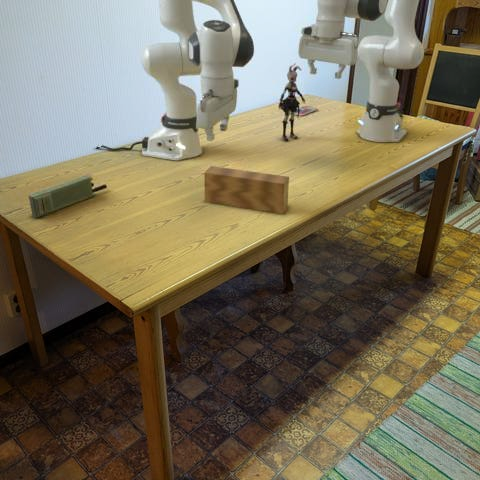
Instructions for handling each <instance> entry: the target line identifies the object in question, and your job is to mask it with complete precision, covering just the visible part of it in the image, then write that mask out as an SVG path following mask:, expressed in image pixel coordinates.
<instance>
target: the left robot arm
mask: <svg viewBox="0 0 480 480" xmlns="http://www.w3.org/2000/svg"><path fill="white" fill-rule="evenodd" d="M193 2H196V3H200V4H204V5H207V6H209V7H211V8H213V9H215V10H216V11H217V12H218V13H219V14H220V16H221V20H220V19H219V20H218V19H210V20H206V21H205V22H203V23H202V25H201V29H199V30H198V29H197V26H196V23H195V15H194V6H193ZM158 9H159V21H160V23H161V25H162V26H163V27H164V28H165V29H166V30H168V31H170V32H172V33H174V34H176V35H177V36H178V39H179V41H178V42H158V43H154V44H149V45H147V46H145V47H144V48H143V50H142V53H141V60H140V61H141V66H142V68H143V70H144V72H145V73H146V74H147V75H148V76H150V77H151V78H152V79H154V80H155V81H156V82H157V84H158V85H159V87H160V89H161V90H162V92H163V93H162V94H163V96H164V102H165V103H164V104H165V113H163V114H162V116H161V118H160V123H161V125H159V127H157V128H156V129H155V130H154V131H152V132H151V133H150V135H149V136H144V137H143V139H142V140H141V141H136V142H133V143H132V144H131V145H130V147H126V146H121V147H117V148H116V147H115V148H114V147H109V146H107V145H104V144H101V145H102V146H101V147H98V146H99V145H97V146H96V147H95V150H99V149H100V148H103V149H106V150H108V151H114V152H116V151H122V150H126V151H130V150H133V148H134V147H135V146H137V145H141V148H142V150H141V155H142V156H145V157H152V158H157V159H164V160H170V161H176V162H178V161H182V160H185V159H190V158H191V159H192V158H196V157H198V156H200V155H202V153H203V149H202V148H203V147H202V145H201V142H200V134H199V129H202V130H204V132H205V135H206V140H207V142H213V141H214V140H215V136H216V135H215V134H216V133H214V127H215V126H216V125H217V124H219V123H220V124H219V130H220V131H221V132H225V131H227V130H228V124H229V121H230V115H231V114H232V113H234V112H235V111H236V109H237V108H236V107H237V103H238V102H237V101H238V88H239V85H240V81H239V79H237V78H234V71H233V68H244V67H245V66H246V65H248V63H250V61H251V60H252V59H253V57H254V54H255V45H254V40H253V38H252V37H253V36H252V35H251V33H250V32H249V30H248V29H247V27H246V25H245V23H244V21H243V19H242V17H241V16H242V15H241V14H240V11H239V9H238V6H237V4H236V2H235V0H158ZM189 76H190V77H193V76H200V93H201V94H202V95H201V97H200V98H199V100H198V99H197V93H196V92H195V91H194V89H192V88H191V87H189V86H187V85H185V84H183V83H181V82H180V81H179V80H180V79H179V78H180V77H189ZM197 100H198V102H197Z"/></svg>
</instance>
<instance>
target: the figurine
mask: <svg viewBox="0 0 480 480" xmlns="http://www.w3.org/2000/svg"><path fill="white" fill-rule="evenodd" d="M292 68H293V69H292ZM297 70H299V71H302V68H301V67H300V66H299V65H296V62H295V63H293V64H291V65H290V66H289V67H288V72H287V73H286V77H287V80H288V81H289V82H288V83H286V84H285V87H284V89H283V91H282V93H281V95H280V98H279V104H278V110H280V111H281V110H282V111H283V113H284V118H283V120H282V121H281V123H282V135H281V139H282V140H283V141H284V142H288V141H290V140H289V138H288V137H287V125H288V124H290V133H289V137H290V138H292V139H294V140H295V139H296V140H297V139H298V136H297V135H296V134H295V132H294V123H295V116H297V117H296V119H299V111H300V109H299V108H301V107H300V105H301V103H306V100H305V98H304V97H303V94H302V93H301V91H300V90H299V88H298V85H297V83H296V82H297V77H298V72H296V71H297ZM286 92H287V93H288V94H287V97H285V94H286ZM296 94H297V95H298V96H299V98H300V99H301V102H300V101H299V100H298V99H297V96H296ZM297 109H298V115H295V112H297ZM290 112H291V113H290ZM300 114H301V113H300ZM289 122H290V123H289Z"/></svg>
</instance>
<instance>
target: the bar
mask: <svg viewBox="0 0 480 480" xmlns="http://www.w3.org/2000/svg"><path fill="white" fill-rule="evenodd" d="M203 175H204V176H203V177H204V178H203V179H204V202H206V203H210V204H211V203H212V204H217V205H222V206H223V205H224V206H230V207H236V208H242V209H249V210H255V211H261V212H267V213H272V214H279V215H284V213H285V211H286V209H287V208H288V201H289V186H290V176H285V175H278V174H271V173H264V172H257V171H251V170H250V171H249V170H242V169H235V168H228V167H221V166H214V165H210V167H209V168H207V169H206V170H205V171H204V172H203Z"/></svg>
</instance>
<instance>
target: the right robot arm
mask: <svg viewBox="0 0 480 480" xmlns="http://www.w3.org/2000/svg"><path fill="white" fill-rule="evenodd" d="M419 2H420V0H317V3H316V4H317V15H316V17H315V24H311V25H307V26H304V27H302V28H301V32H300V33H301V37H300V38H299V42H298V52H297V53H298V57H299V58H300V59H304V60H307V65H308V67H309V74H310V75H317V71H318V68H317V67H315V64H314V63H315V62H316V61H317V62H325V63H329V64H335V65H338V71H336V72H334V79H338V80H339V79H341V78H342V75H343V72H344V71H345V69H346V68H347V66H354V65H356V63H357V62H358V59H359V61H361V63H362V64H363V65H364V67H365V68H366V71H367V73H368V78H369V92H368V93H369V94H368V100H367V102H366V106H365V112H364V113H362V117H361V120H360V119H358V123H359V124H360V126H359V129H357V130H356V134H358V135H359V137H360V138H361V139H363V140H365V141H370V142H373V143H374V142H375V143H399V142H400V141H401V140H402V139H403V138H404V137H405V136H406V135H407V133H408V131H407V130H406V129H404V128H403V121H404V120H403V116H404V115H403V114H402V112H401V111H405V110H406V109H405V107H404V106H401V102H398V97H399V92H400V84H399V81H398V80H397V79H396V78H395V77H394V76H393V75H392V74H391V71H390V69H398V70H413V69H416V68H417V67H418V66H420V64H421V63H422V61H423V60H424V55H425V48H424V44H423V43H422V42H421V41H420V39H419V38H418V36H417V34H416V29H415V22H416V17H417V16H416V15H417V11H418V7H419ZM383 14H384V21H386V23H387V24H388V25H389V26H390V27H391V28H393V35H392V36H389V35H379V34H375V35H367V36H366V35H365V37H363V38H361V40H360V39H359V37H358V35H356V33H354V32H347V31H345V24H346V18H350V19H359V20H366V21H370V22H375V21H377V20H378V19H379V18H381V16H383Z"/></svg>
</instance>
